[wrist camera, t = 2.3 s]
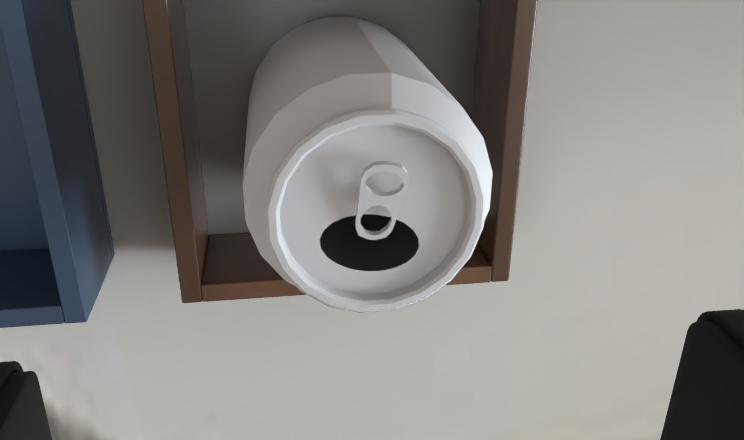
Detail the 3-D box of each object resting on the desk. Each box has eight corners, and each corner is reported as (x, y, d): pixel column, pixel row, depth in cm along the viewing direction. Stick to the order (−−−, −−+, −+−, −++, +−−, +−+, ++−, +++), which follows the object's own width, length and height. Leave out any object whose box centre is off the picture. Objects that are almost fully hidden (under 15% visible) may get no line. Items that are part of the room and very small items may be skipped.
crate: (504, -70, 28) (545, -63, 24) (479, 234, 34) (508, 281, 30) (154, -69, 26) (134, -62, 22) (192, 251, 32) (182, 303, 28)
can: (242, 174, 31) (230, 329, 20) (257, -1, 27) (252, 70, 17) (406, 190, 32) (478, 341, 21) (438, 25, 29) (540, 105, 18)
